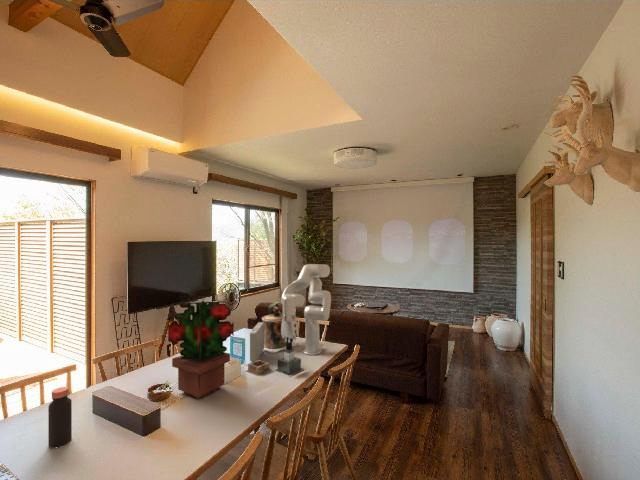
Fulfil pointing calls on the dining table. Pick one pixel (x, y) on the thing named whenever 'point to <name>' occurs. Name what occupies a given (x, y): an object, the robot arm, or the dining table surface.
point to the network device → (257, 341)
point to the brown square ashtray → (258, 367)
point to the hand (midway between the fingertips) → (289, 348)
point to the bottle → (59, 418)
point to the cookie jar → (274, 330)
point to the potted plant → (201, 346)
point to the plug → (288, 355)
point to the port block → (289, 366)
